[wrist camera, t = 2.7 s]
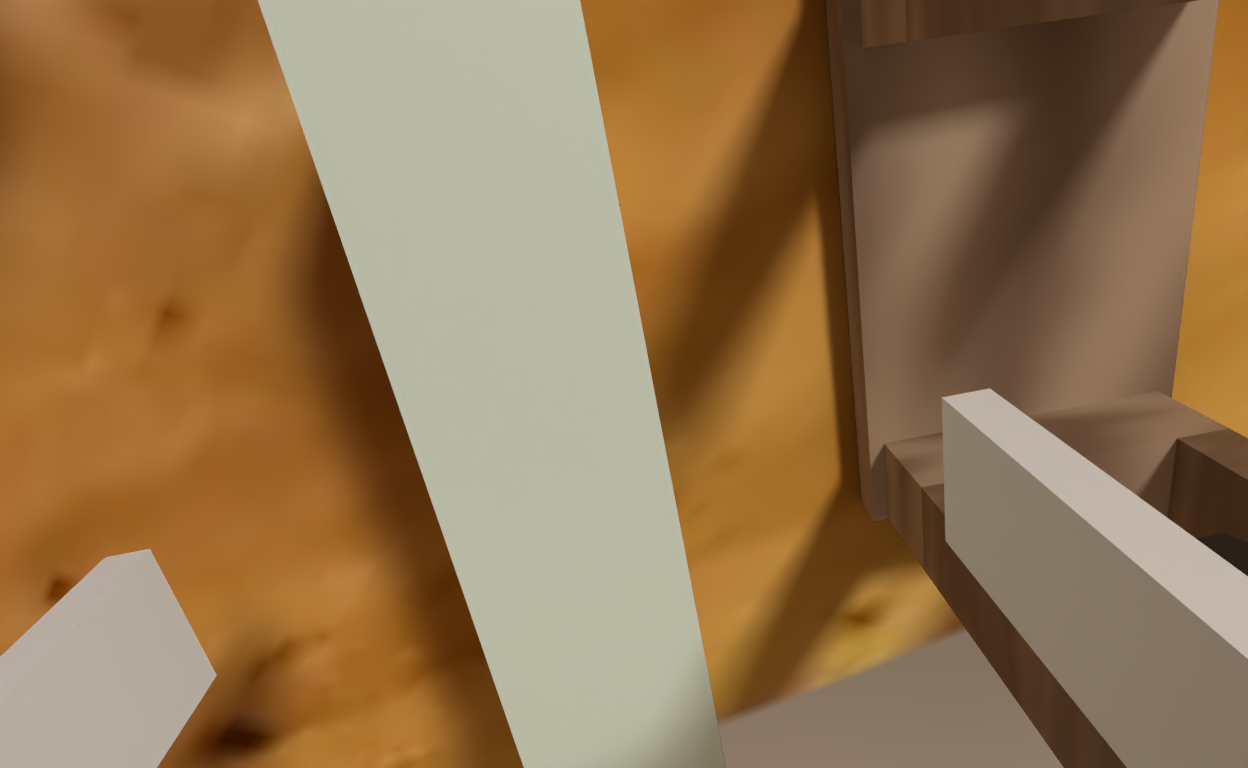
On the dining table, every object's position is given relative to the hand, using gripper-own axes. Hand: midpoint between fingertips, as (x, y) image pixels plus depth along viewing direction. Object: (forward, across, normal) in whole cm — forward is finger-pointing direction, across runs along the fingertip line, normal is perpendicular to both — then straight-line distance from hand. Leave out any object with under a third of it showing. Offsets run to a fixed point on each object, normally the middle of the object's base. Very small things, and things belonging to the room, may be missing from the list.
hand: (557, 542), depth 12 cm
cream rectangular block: (+12, 0, 0) cm, 12 cm away
